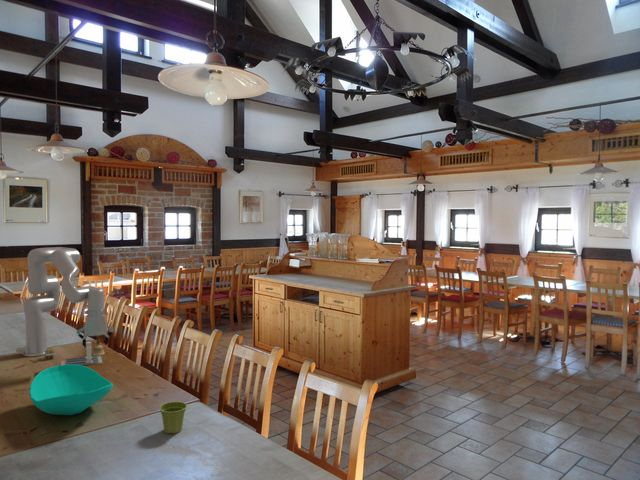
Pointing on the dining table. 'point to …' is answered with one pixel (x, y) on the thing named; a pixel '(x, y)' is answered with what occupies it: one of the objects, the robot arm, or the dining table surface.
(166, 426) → the plant pot
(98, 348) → the hand bell
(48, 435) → the dining table surface
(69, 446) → the dining table surface
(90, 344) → the handle
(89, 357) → the handle
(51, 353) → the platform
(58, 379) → the table top decor
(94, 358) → the panel
